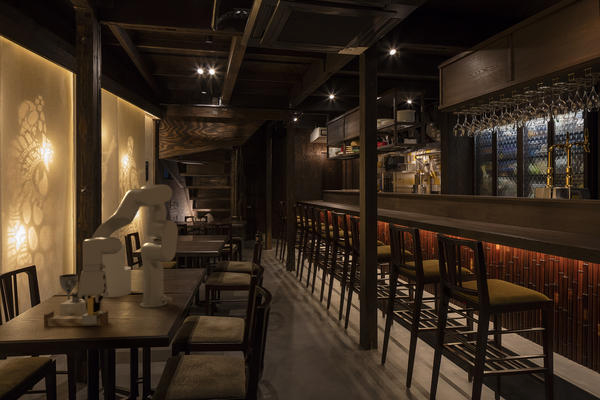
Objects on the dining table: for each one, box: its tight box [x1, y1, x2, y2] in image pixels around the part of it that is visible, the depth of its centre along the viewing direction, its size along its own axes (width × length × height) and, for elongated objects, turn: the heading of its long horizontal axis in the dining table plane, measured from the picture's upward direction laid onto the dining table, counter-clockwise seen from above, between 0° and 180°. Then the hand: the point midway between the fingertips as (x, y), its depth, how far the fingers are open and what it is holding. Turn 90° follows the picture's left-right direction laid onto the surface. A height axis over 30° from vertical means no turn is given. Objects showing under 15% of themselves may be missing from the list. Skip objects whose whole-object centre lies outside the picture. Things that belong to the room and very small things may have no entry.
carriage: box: [82, 295, 105, 324], centre depth 174 cm, size 6×7×11 cm
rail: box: [43, 310, 109, 327], centre depth 174 cm, size 24×5×5 cm, turn 91°
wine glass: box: [58, 273, 79, 301], centre depth 205 cm, size 8×8×15 cm
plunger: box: [70, 291, 80, 303], centre depth 185 cm, size 4×4×7 cm
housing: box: [59, 298, 87, 316], centre depth 185 cm, size 9×9×7 cm
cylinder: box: [101, 243, 132, 298], centre depth 230 cm, size 17×17×28 cm
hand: (93, 310), depth 174 cm, fingers closed on carriage, 2 cm apart
